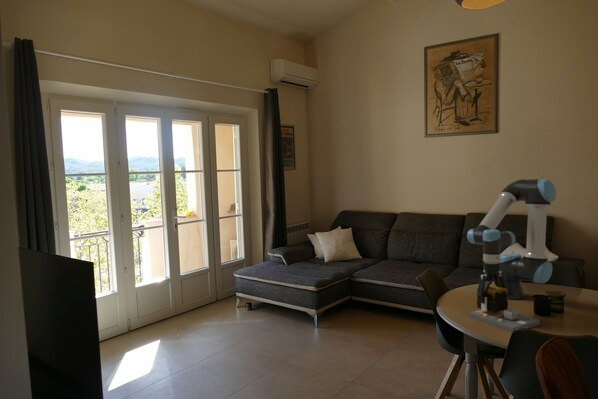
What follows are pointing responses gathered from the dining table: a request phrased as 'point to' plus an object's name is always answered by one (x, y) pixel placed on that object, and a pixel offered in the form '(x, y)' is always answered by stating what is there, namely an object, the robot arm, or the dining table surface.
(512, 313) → the breaker slider
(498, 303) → the brown and yellow box
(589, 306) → the dining table surface
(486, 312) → the breaker panel
